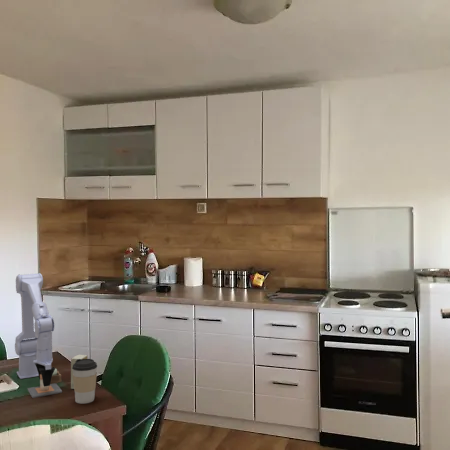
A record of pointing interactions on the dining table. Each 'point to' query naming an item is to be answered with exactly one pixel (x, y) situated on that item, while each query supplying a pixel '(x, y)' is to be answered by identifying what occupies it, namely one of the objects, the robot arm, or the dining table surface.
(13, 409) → the dining table surface
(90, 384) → the coffee cup
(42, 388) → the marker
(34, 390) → the grey square plate
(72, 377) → the skincare box
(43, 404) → the dining table surface
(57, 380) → the button housing
